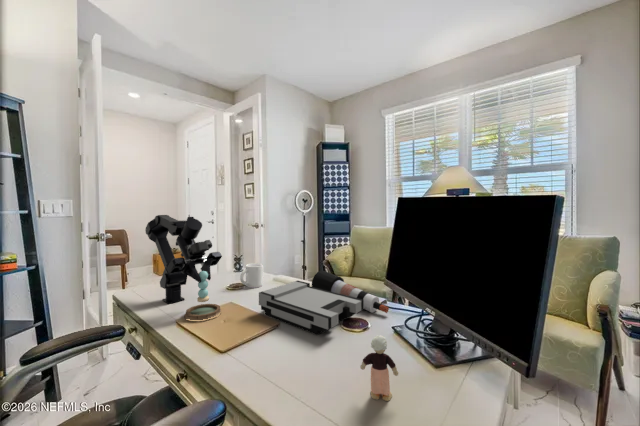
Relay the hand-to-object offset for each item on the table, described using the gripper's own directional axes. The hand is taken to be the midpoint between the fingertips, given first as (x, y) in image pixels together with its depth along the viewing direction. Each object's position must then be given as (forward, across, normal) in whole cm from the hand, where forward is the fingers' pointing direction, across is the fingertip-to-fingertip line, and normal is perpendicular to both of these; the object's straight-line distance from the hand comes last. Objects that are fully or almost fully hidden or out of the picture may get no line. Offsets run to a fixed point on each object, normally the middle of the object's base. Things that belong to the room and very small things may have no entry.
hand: (205, 280), depth 98 cm
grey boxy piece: (+31, +22, -12) cm, 40 cm away
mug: (-1, +33, +19) cm, 38 cm away
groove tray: (+8, 0, +10) cm, 13 cm away
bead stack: (+4, 0, +6) cm, 7 cm away
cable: (+35, +41, -17) cm, 56 cm away
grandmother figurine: (+57, -2, -39) cm, 69 cm away
